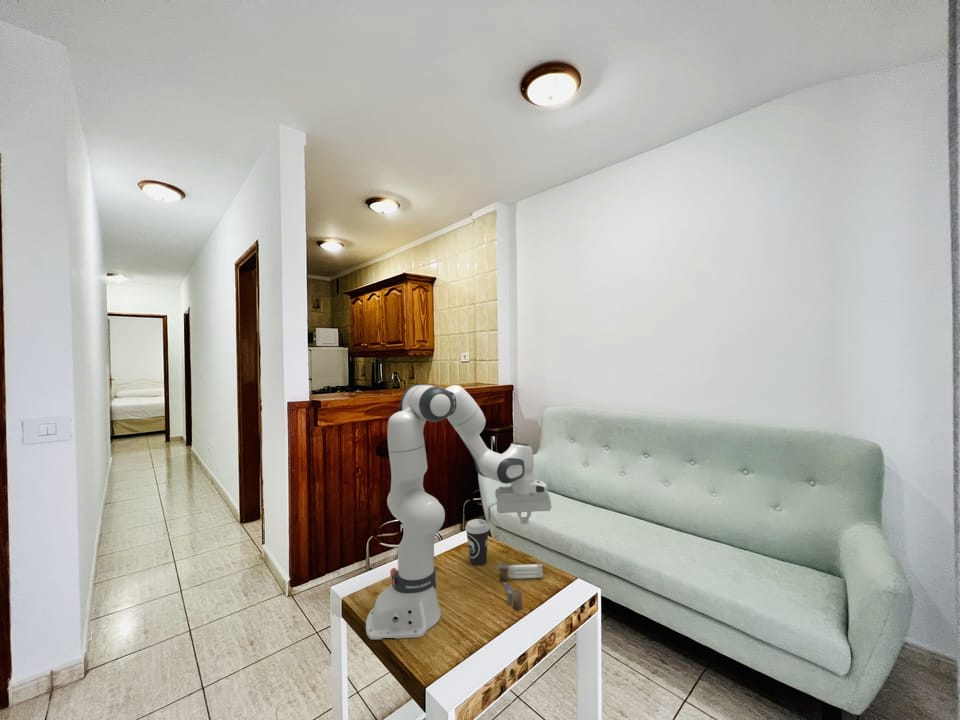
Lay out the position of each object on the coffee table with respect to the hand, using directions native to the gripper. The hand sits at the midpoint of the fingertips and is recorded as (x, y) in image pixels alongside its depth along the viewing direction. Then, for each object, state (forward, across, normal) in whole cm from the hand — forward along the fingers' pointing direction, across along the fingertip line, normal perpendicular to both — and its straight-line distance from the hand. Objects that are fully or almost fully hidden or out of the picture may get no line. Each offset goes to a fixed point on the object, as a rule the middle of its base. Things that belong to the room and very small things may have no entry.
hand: (524, 523), depth 141 cm
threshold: (+18, -7, -13) cm, 23 cm away
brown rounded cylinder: (+18, -6, -20) cm, 27 cm away
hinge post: (+18, -9, -5) cm, 21 cm away
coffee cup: (+18, -18, +8) cm, 27 cm away
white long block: (+17, -1, -5) cm, 18 cm away
